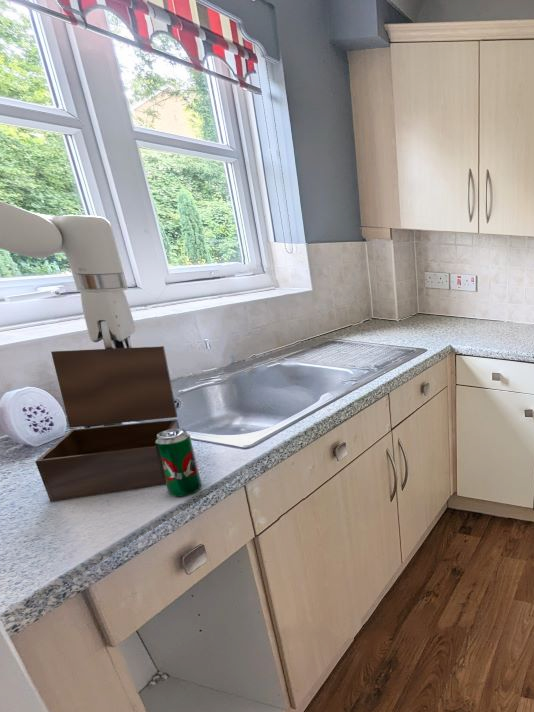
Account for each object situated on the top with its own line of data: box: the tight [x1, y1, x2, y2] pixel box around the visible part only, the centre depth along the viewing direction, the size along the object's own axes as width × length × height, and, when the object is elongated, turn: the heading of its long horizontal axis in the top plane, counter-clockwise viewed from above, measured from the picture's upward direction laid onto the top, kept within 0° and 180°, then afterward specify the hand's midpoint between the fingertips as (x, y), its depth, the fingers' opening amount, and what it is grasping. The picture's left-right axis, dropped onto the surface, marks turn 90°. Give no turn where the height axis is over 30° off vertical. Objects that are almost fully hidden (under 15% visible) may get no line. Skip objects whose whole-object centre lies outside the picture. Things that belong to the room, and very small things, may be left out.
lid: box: [50, 345, 178, 429], centre depth 91 cm, size 15×17×1 cm
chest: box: [34, 418, 181, 502], centre depth 89 cm, size 14×17×8 cm
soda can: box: [155, 428, 202, 498], centre depth 83 cm, size 5×5×12 cm
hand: (126, 370), depth 96 cm, fingers closed
